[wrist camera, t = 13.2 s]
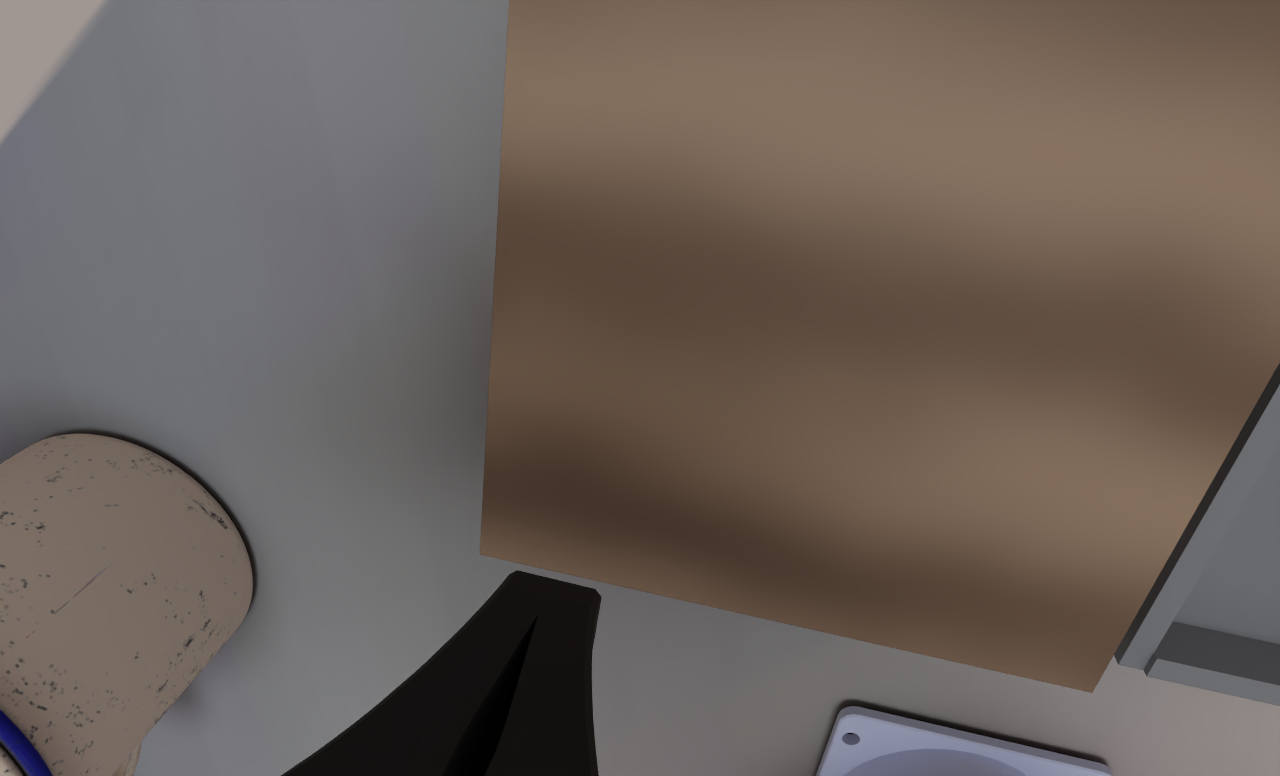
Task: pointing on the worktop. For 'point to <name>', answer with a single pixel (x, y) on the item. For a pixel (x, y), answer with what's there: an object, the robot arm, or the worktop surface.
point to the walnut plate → (882, 306)
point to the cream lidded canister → (105, 600)
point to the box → (1223, 577)
